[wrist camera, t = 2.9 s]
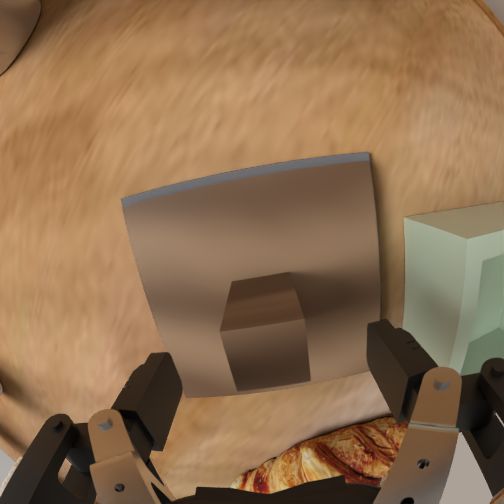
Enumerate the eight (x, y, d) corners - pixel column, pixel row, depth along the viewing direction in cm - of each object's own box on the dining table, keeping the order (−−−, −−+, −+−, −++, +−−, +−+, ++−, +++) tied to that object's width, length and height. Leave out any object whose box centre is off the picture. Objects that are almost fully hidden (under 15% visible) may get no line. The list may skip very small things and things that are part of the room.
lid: (129, 205, 14) (65, 222, 8) (361, 161, 13) (421, 154, 8) (189, 388, 18) (170, 453, 12) (371, 360, 17) (404, 420, 11)
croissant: (248, 463, 26) (262, 517, 20) (197, 462, 19) (212, 533, 13) (417, 397, 22) (442, 454, 16) (427, 377, 16) (464, 458, 10)
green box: (403, 217, 15) (466, 239, 9) (511, 200, 14) (564, 212, 8) (397, 372, 18) (428, 425, 12) (497, 329, 17) (533, 360, 11)
